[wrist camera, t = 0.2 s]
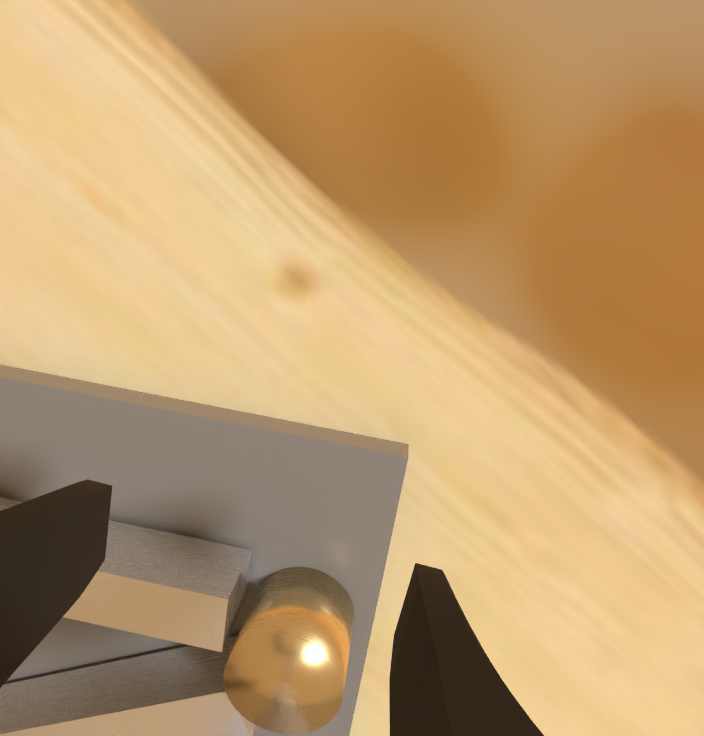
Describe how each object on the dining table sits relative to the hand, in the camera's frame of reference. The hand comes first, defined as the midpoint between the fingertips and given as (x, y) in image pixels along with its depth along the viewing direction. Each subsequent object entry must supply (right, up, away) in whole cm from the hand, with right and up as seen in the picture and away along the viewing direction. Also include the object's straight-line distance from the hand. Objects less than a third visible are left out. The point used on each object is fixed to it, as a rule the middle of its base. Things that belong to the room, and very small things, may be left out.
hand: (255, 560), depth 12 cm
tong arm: (-9, -11, +13) cm, 19 cm away
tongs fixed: (-8, -4, +11) cm, 14 cm away
